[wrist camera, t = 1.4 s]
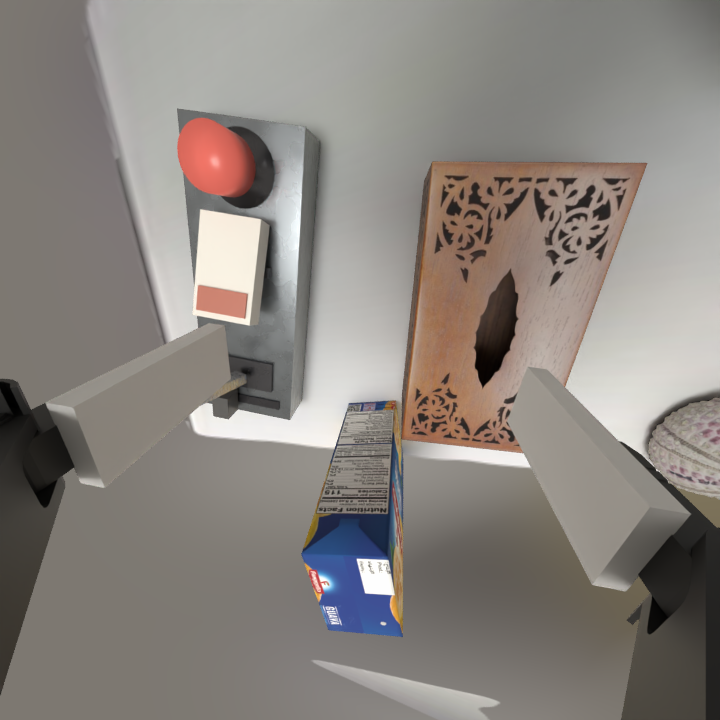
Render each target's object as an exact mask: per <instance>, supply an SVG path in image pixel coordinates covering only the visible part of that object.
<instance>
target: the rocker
mask: <svg viewBox="0 0 720 720" xmlns="http://www.w3.org/2000/svg"><path fill="white" fill-rule="evenodd" d="M269 227H270V225H268V224H267V223H266V222H264V221H263V220H261V219H256V218H250V217H244V216H238V215H232V214H226V213H220V212H214V211H208V210H202V209H200V220H199V233H198V247H197V260H196V274H195V287H194V301H193V314H192V315H196V316H202V317H207V318H212V319H218V320H223V321H228V322H233V323H239V324H244V325H249V326H250V325H258V324H259V315H260V306H261V297H262V289H263V280H264V271H265V262H266V254H267V245H268V236H269Z"/></svg>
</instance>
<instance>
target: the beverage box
mask: <svg viewBox="0 0 720 720" xmlns="http://www.w3.org/2000/svg"><path fill="white" fill-rule="evenodd" d="M301 554H302V557H303V560H304V563H305V566H306V569H307V571H308V574H309V577H310V580H311V582H312V585H313V588H314V591H315V593H316V596H317V599H318V602H319V605H320V607H321V610H322V613H323V616H324V619H325V621H326V624H327V627H328V630H333V631H344V632H356V633H366V634H378V635H389V636H400V637H403V633H402V632H403V454H402V446H401V438H400V430H399V423H398V415H397V407H396V401H381V402H365V403H349V405H348V408H347V412H346V415H345V418H344V421H343V424H342V427H341V431H340V434H339V437H338V440H337V443H336V446H335V450H334V453H333V456H332V459H331V462H330V466H329V469H328V472H327V475H326V478H325V481H324V485H323V488H322V491H321V494H320V497H319V501H318V504H317V507H316V510H315V513H314V516H313V519H312V523H311V526H310V529H309V532H308V535H307V538H306V542H305V545H304V548H303V551H302V553H301Z"/></svg>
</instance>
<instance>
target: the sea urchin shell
mask: <svg viewBox="0 0 720 720" xmlns="http://www.w3.org/2000/svg"><path fill="white" fill-rule="evenodd" d="M652 435H653V438H651V439H650V442H649V444H648V446H649V449H648V450H649V452H648V453H649V454H650V455H651V456H650V460H651V461H652V462H653V464H654V467H655V468H656V469H658V470H659V471H660V472H661V474H662V475H663V476H664V477H665V478H666V479H668V481H669V483H670V484H674V485H676V487H677V488H681V489H685V490H686V491H691V492H693V493H696V494H702V495H707V496H708V497H716V498H718V499H719V500H720V398H716V397H715V398H713V399H712V400H710V401H701V402H699V403H698V402H696V403H689V404H688V406H686V407H683V408H680V409H679V410H678V411H677V412H672V413H671V415H669V416H667V417H665V420H664V422H663V423H662V424H659V425H657V428H656V429H655V430H654V431H653V433H652Z"/></svg>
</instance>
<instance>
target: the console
mask: <svg viewBox="0 0 720 720" xmlns="http://www.w3.org/2000/svg"><path fill="white" fill-rule="evenodd" d="M177 112H178V123H179V133H181V131H182V129H183V127H184V126H185V125H186V124H187V123H188V122H189V121H191V120H193V119H196V118H208V119H211V120H213V121H215V122H217V123H219V124H220V125H222V126H224V127H226V128H227V129H229V130H231V131H233V132H234V133H236V134H238V135H239V136H240V137H242V138H243V139H244V140H245V142H246V143H247V144H248V146H249V147H250V149H251V151H252V154H253V157H254V160H255V169H256V170H255V178H254V182H253V184H252V186H251V188H250V189H249V190H248V191H247V192H246V193H245V194H244V195H242V196H239V197H226V196H220V195H215V194H210V193H206V192H203V191H201V190H199V189H198V188H196V187H195V186H194V185H193V184H192V183H191V182H190V181H189V180H188V178H187V177H186V175H185V174H184V172H183V174H184V185H185V195H186V205H187V216H188V226H189V236H190V247H191V257H192V267H193V278H194V287H195V274H196V260H197V247H198V233H199V220H200V209H202V210H208V211H214V212H220V213H226V214H232V215H238V216H244V217H250V218H256V219H261V220H263V221H264V222H266V223H267V224H268V225H270V227H269V236H268V245H267V254H266V262H265V271H264V280H263V289H262V297H261V306H260V315H259V324H258V325H250V326H249V325H244V324H239V323H233V322H228V321H223V320H218V319H212V318H207V317H202V316H197V319H198V328H200V327H202V326H204V325H206V324H208V323H211V324H219V325H225V332H226V340H227V349H228V358H229V367H230V373H232V372H234V371H239V372H242V373H244V374H246V384H244V385H242V386H240V387H238V388H236V389H237V390H238V409H240V410H244V411H249V412H254V413H259V414H264V415H268V416H273V417H278V418H283V419H287V420H290V419H291V417H292V416H293V414H294V412H295V411H296V409H297V407H298V406H299V404H300V402H301V401H302V390H303V376H304V362H305V347H306V333H307V319H308V305H309V291H310V277H311V263H312V249H313V235H314V221H315V207H316V193H317V178H318V164H319V150H320V141H319V140H318V139H317V138H316V137H315V136H314V135H313V134H312V133H311V132H310V131H309V130H308V129H307V128H306V127H304V126H297V125H290V124H283V123H276V122H269V121H262V120H255V119H248V118H241V117H234V116H226V115H219V114H212V113H205V112H198V111H191V110H184V109H177ZM207 403H211V404H212V400H211V401H209V402H207Z"/></svg>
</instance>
